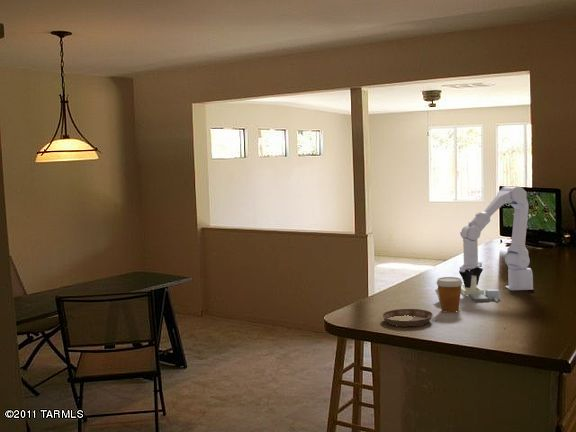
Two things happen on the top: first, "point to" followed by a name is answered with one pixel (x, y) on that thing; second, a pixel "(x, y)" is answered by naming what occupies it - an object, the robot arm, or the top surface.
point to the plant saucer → (418, 320)
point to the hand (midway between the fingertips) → (471, 286)
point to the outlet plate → (466, 292)
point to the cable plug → (492, 294)
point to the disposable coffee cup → (449, 293)
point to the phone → (478, 298)
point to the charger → (472, 284)
